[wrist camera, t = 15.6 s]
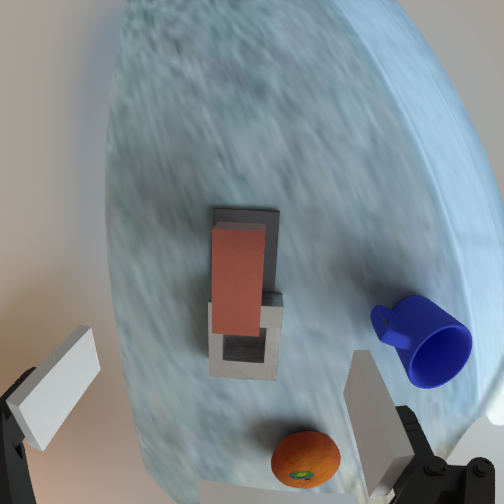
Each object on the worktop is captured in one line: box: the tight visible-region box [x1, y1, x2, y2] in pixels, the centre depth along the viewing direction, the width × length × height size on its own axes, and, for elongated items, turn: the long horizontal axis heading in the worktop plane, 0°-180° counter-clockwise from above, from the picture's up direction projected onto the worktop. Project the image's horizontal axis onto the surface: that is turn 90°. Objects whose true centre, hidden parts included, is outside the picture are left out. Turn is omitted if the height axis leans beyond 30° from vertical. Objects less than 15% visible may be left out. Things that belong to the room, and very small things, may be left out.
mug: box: [370, 296, 472, 389], centre depth 32 cm, size 8×12×10 cm
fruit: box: [271, 431, 341, 489], centre depth 39 cm, size 11×10×8 cm
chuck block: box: [208, 293, 284, 381], centre depth 36 cm, size 10×8×4 cm
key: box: [212, 222, 266, 337], centre depth 30 cm, size 4×9×10 cm, turn 177°
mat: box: [213, 208, 280, 292], centre depth 35 cm, size 9×7×1 cm
